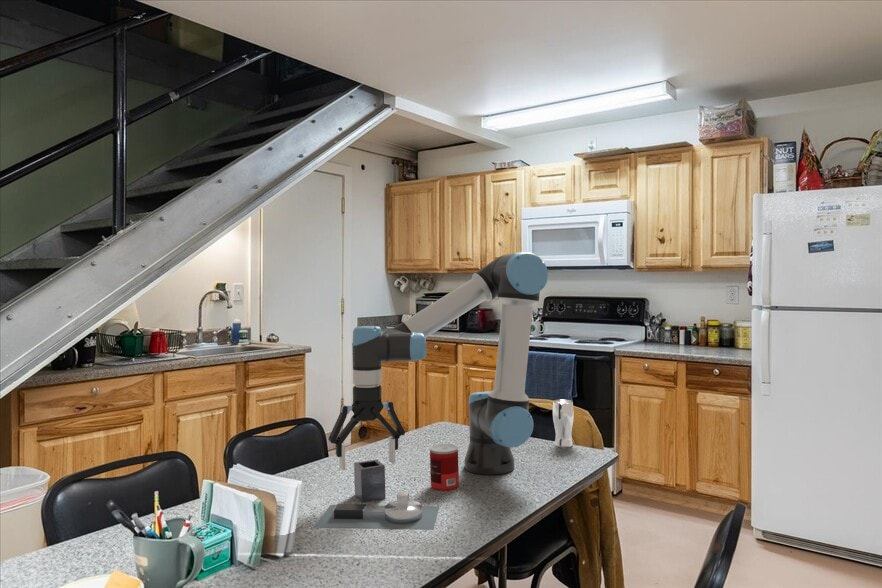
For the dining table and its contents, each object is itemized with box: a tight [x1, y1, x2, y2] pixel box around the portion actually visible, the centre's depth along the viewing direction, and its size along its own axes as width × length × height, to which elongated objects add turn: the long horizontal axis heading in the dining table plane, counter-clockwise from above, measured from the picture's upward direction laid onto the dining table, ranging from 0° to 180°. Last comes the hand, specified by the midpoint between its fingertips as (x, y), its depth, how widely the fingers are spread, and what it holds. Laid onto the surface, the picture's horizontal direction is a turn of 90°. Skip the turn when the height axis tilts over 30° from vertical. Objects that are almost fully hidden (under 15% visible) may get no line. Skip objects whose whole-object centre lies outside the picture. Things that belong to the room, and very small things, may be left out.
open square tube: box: [353, 459, 386, 504], centre depth 156 cm, size 6×6×9 cm
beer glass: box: [552, 399, 575, 449], centre depth 202 cm, size 7×7×15 cm
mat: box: [312, 504, 440, 531], centre depth 143 cm, size 28×14×1 cm, turn 84°
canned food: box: [429, 443, 460, 492], centre depth 163 cm, size 8×8×11 cm
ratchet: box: [332, 491, 423, 524], centre depth 143 cm, size 22×9×6 cm, turn 85°
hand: (367, 465), depth 156 cm, fingers open, 13 cm apart
